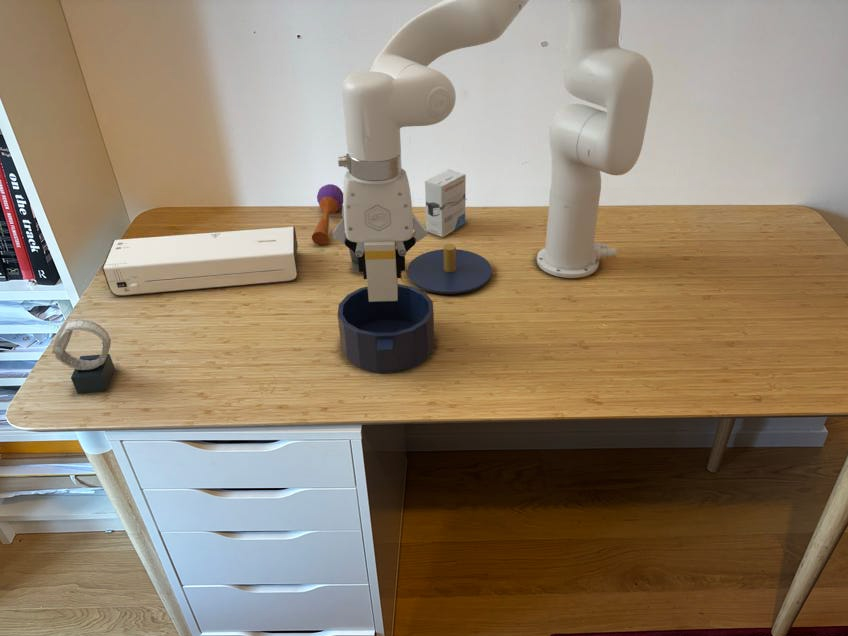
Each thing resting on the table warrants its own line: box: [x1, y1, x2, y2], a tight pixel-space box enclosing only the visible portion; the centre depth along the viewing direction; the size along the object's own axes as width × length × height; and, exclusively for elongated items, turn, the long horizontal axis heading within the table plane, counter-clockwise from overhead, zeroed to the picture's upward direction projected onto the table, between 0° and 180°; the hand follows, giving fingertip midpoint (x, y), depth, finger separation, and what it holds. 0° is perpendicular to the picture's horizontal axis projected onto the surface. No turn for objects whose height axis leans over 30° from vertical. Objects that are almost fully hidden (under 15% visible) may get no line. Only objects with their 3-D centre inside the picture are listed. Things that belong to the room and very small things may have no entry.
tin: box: [337, 283, 435, 374], centre depth 120 cm, size 16×21×8 cm
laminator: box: [101, 226, 299, 297], centre depth 137 cm, size 34×12×6 cm, turn 102°
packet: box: [364, 241, 399, 302], centre depth 112 cm, size 5×8×10 cm, turn 5°
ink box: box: [424, 169, 467, 238], centre depth 154 cm, size 8×5×12 cm, turn 144°
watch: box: [51, 318, 116, 394], centre depth 110 cm, size 6×8×11 cm
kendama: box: [311, 183, 343, 246], centre depth 156 cm, size 6×6×20 cm
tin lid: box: [406, 243, 493, 295], centre depth 139 cm, size 17×17×6 cm
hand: (382, 273), depth 114 cm, fingers closed on packet, 4 cm apart
